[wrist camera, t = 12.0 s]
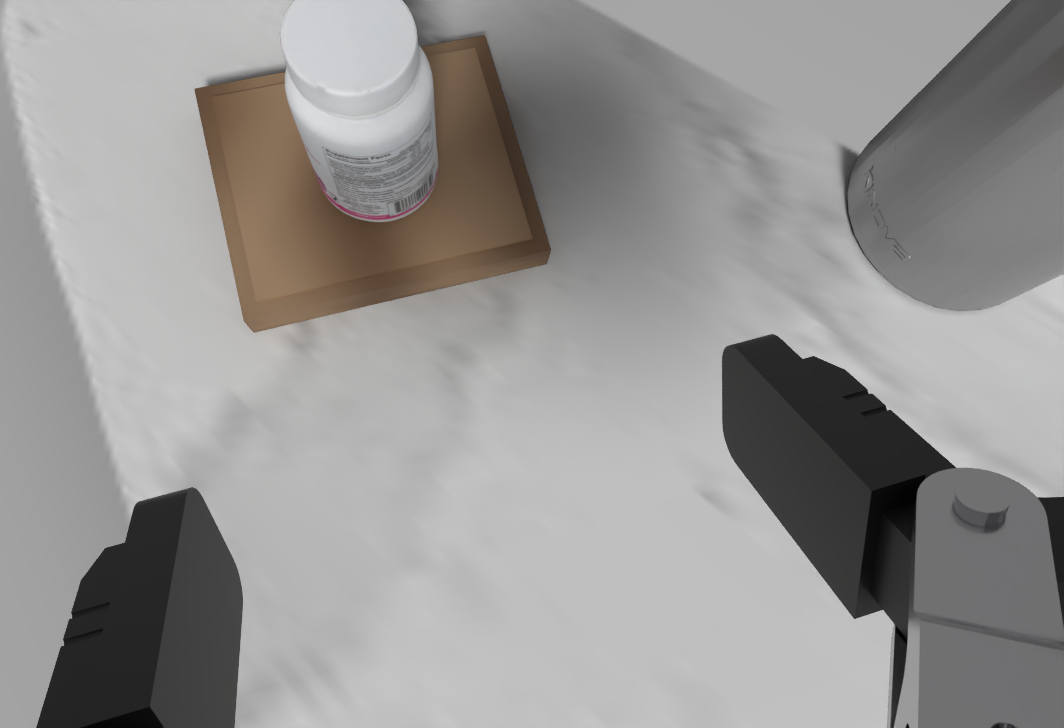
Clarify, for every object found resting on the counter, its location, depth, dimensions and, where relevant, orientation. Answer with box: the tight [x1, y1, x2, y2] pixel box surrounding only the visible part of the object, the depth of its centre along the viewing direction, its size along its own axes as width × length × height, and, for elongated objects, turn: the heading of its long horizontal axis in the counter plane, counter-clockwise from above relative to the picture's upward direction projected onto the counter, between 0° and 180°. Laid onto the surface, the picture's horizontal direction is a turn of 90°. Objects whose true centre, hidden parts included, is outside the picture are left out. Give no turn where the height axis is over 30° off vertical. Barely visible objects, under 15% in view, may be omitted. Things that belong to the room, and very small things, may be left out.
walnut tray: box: [195, 35, 551, 332], centre depth 32 cm, size 12×10×2 cm
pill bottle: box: [280, 0, 438, 222], centre depth 27 cm, size 5×5×8 cm
